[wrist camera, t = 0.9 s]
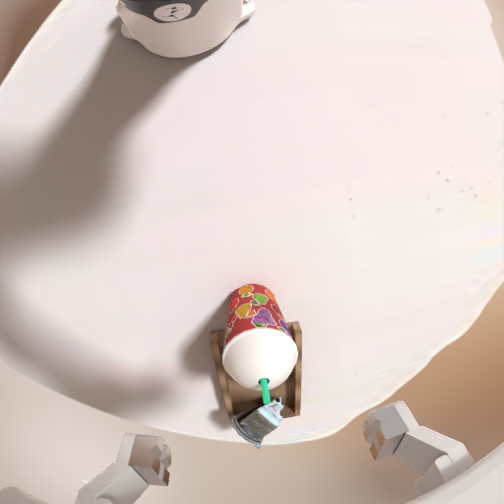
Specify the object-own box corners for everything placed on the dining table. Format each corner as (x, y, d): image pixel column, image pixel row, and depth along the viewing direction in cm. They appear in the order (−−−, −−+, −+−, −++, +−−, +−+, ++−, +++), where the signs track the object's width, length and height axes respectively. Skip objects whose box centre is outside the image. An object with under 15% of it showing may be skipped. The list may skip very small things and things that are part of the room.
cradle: (211, 331, 43) (210, 342, 40) (297, 321, 44) (301, 331, 41) (230, 413, 50) (230, 423, 48) (297, 404, 51) (300, 415, 48)
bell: (291, 387, 49) (302, 435, 38) (268, 406, 51) (275, 453, 39) (251, 369, 47) (255, 421, 35) (230, 390, 48) (229, 440, 37)
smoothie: (224, 323, 43) (223, 426, 24) (223, 275, 40) (219, 372, 21) (277, 322, 43) (303, 422, 25) (281, 275, 41) (318, 367, 22)
